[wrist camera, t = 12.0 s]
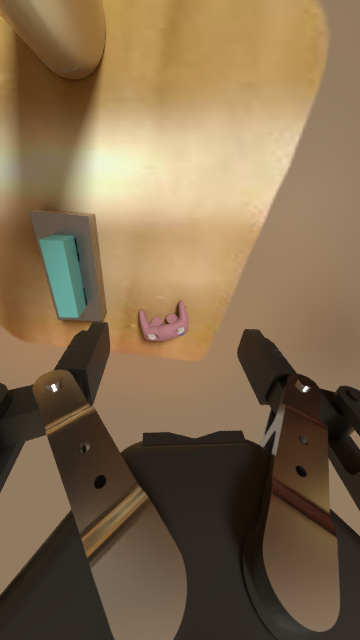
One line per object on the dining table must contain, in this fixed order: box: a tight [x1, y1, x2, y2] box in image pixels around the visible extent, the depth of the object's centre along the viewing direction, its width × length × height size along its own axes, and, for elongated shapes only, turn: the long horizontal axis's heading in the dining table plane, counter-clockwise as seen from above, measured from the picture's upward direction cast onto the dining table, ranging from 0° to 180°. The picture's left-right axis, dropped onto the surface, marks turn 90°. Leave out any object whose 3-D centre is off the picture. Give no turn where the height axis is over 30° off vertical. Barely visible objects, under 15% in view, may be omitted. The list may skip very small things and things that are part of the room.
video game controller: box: [139, 301, 188, 341], centre depth 41 cm, size 10×5×7 cm, turn 101°
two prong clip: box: [39, 235, 86, 318], centre depth 33 cm, size 12×3×7 cm, turn 175°
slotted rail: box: [29, 209, 107, 321], centre depth 35 cm, size 18×8×4 cm, turn 175°
